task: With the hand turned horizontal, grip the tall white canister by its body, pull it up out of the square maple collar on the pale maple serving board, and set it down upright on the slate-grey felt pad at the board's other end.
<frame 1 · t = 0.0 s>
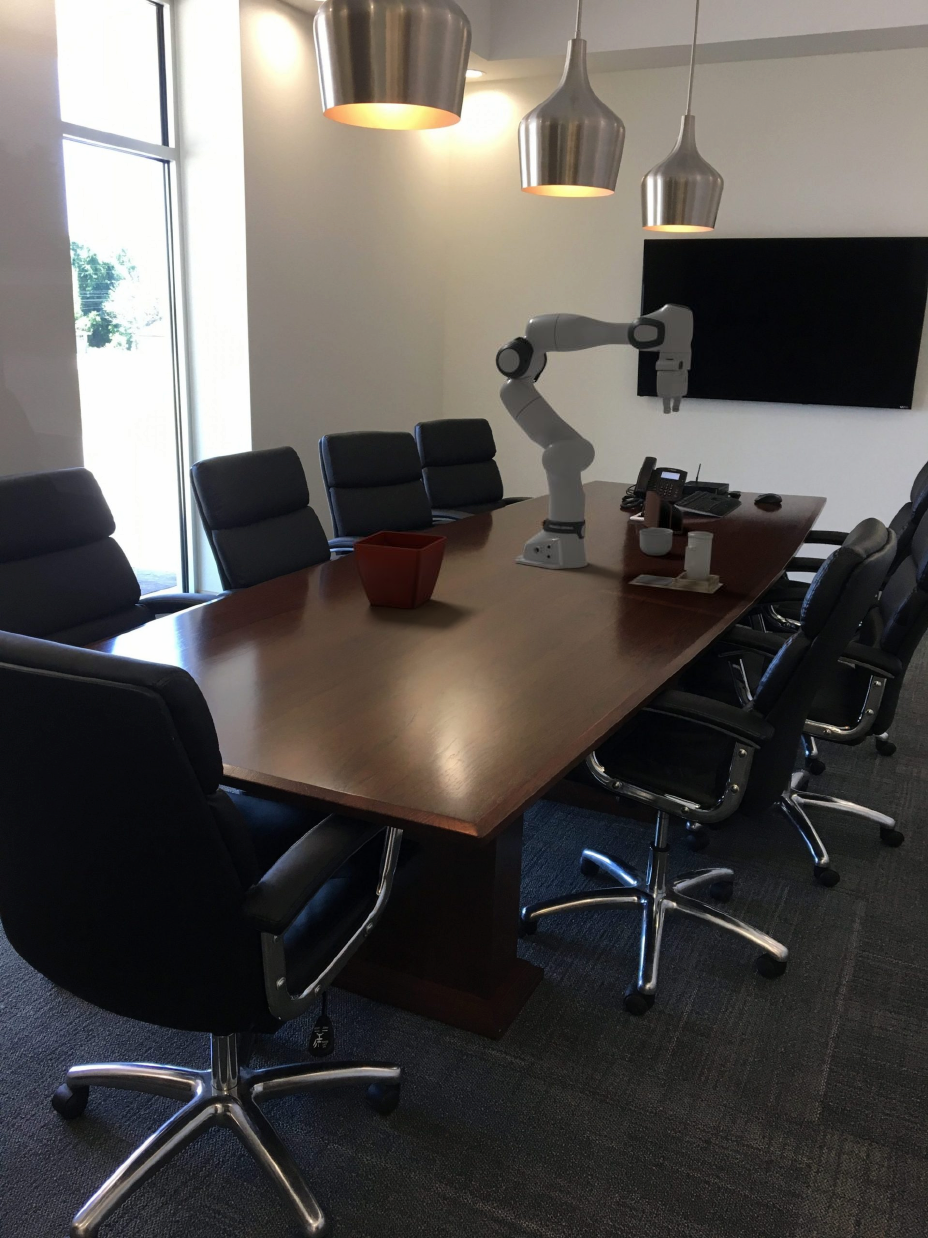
hand: (671, 412, 289), 48 cm above the table, tool pointing down, fingers open, 8 cm apart
teacup: (654, 553, 334), on the table
plant pot: (400, 602, 266), on the table
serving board: (675, 587, 286), on the table
tall white canister: (696, 585, 283), point 1 cm above the table, touching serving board
letter holder: (662, 530, 378), on the table
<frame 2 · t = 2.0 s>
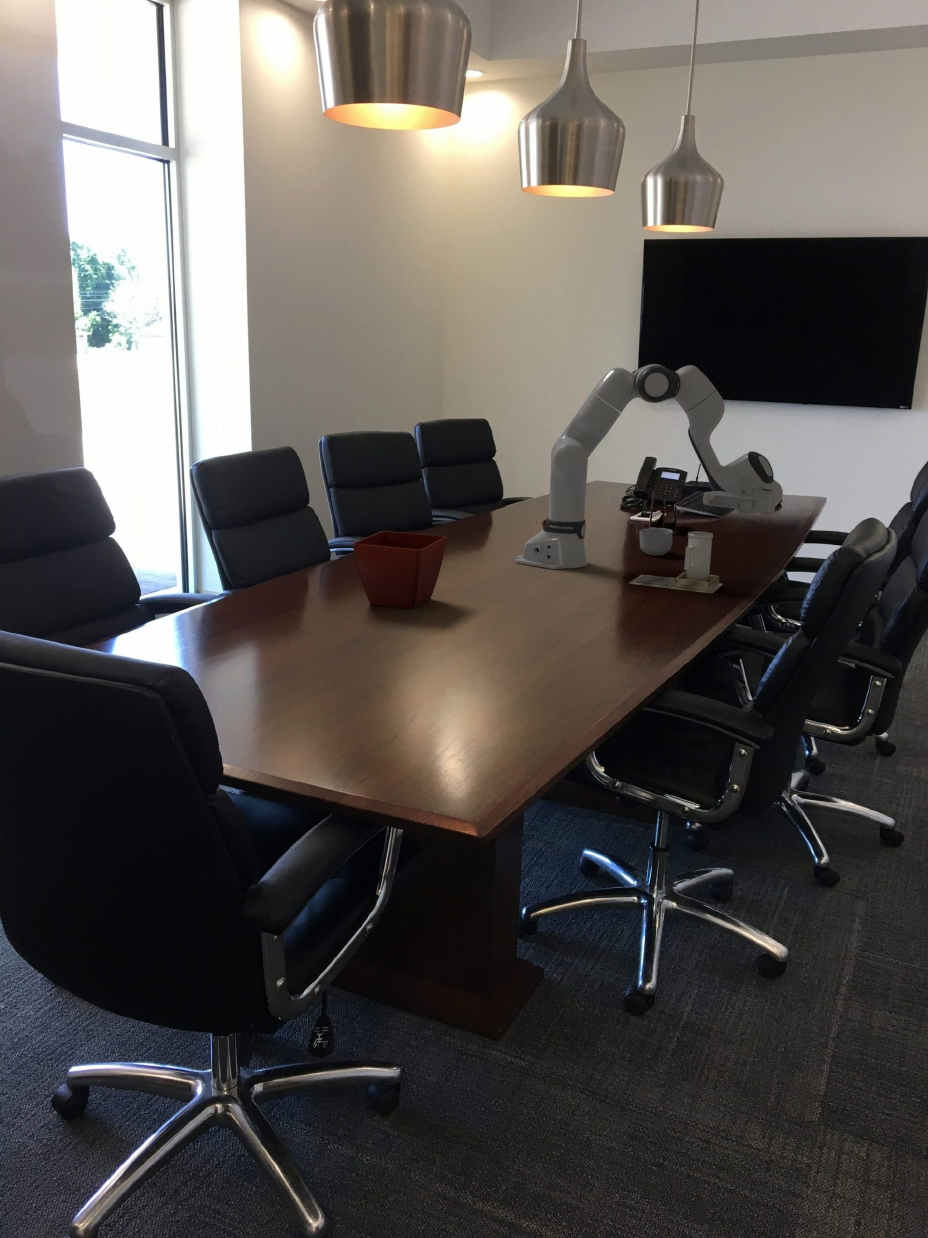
hand: (724, 503, 286), 23 cm above the table, tool horizontal, fingers open, 8 cm apart
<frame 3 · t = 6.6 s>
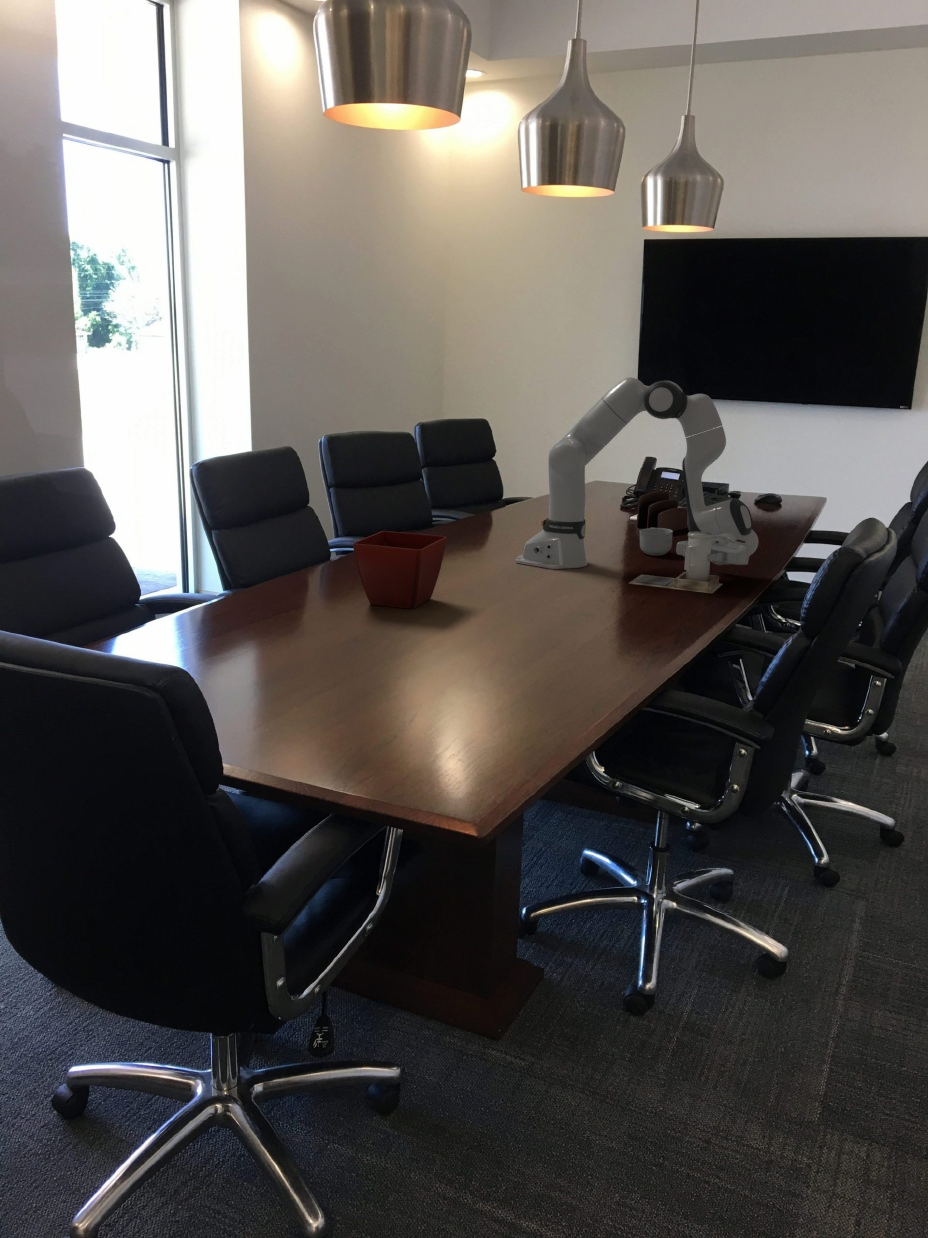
hand: (697, 555, 280), 10 cm above the table, tool horizontal, fingers closed on tall white canister, 6 cm apart
tall white canister: (696, 585, 283), point 1 cm above the table, touching gripper, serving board
when the fingers open (11 cm above the table, at t = 11.1 s): tall white canister stays where it is, resting on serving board.
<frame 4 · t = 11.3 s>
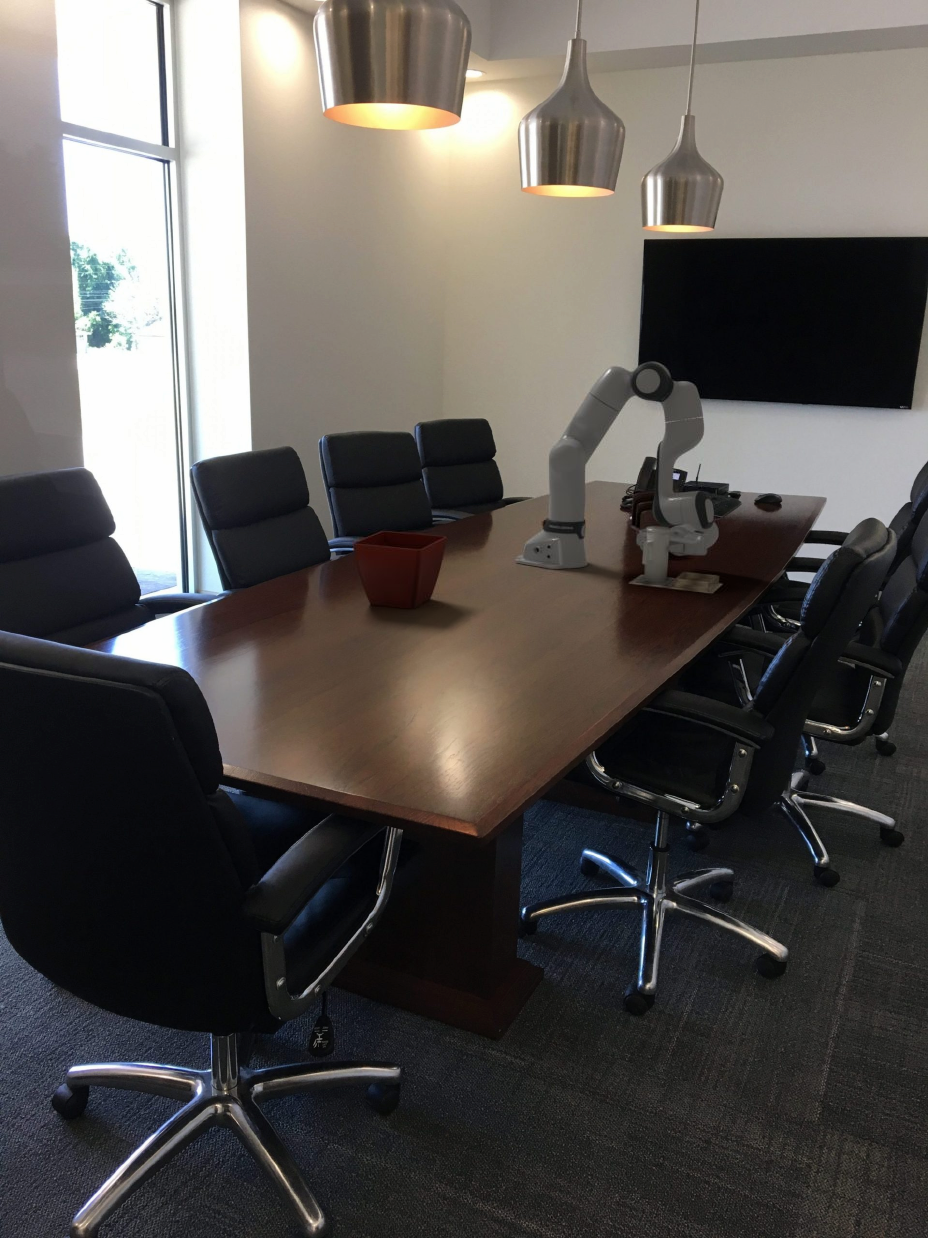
hand: (655, 546, 285), 11 cm above the table, tool horizontal, fingers open, 8 cm apart
tall white canister: (655, 579, 288), point 2 cm above the table, touching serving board
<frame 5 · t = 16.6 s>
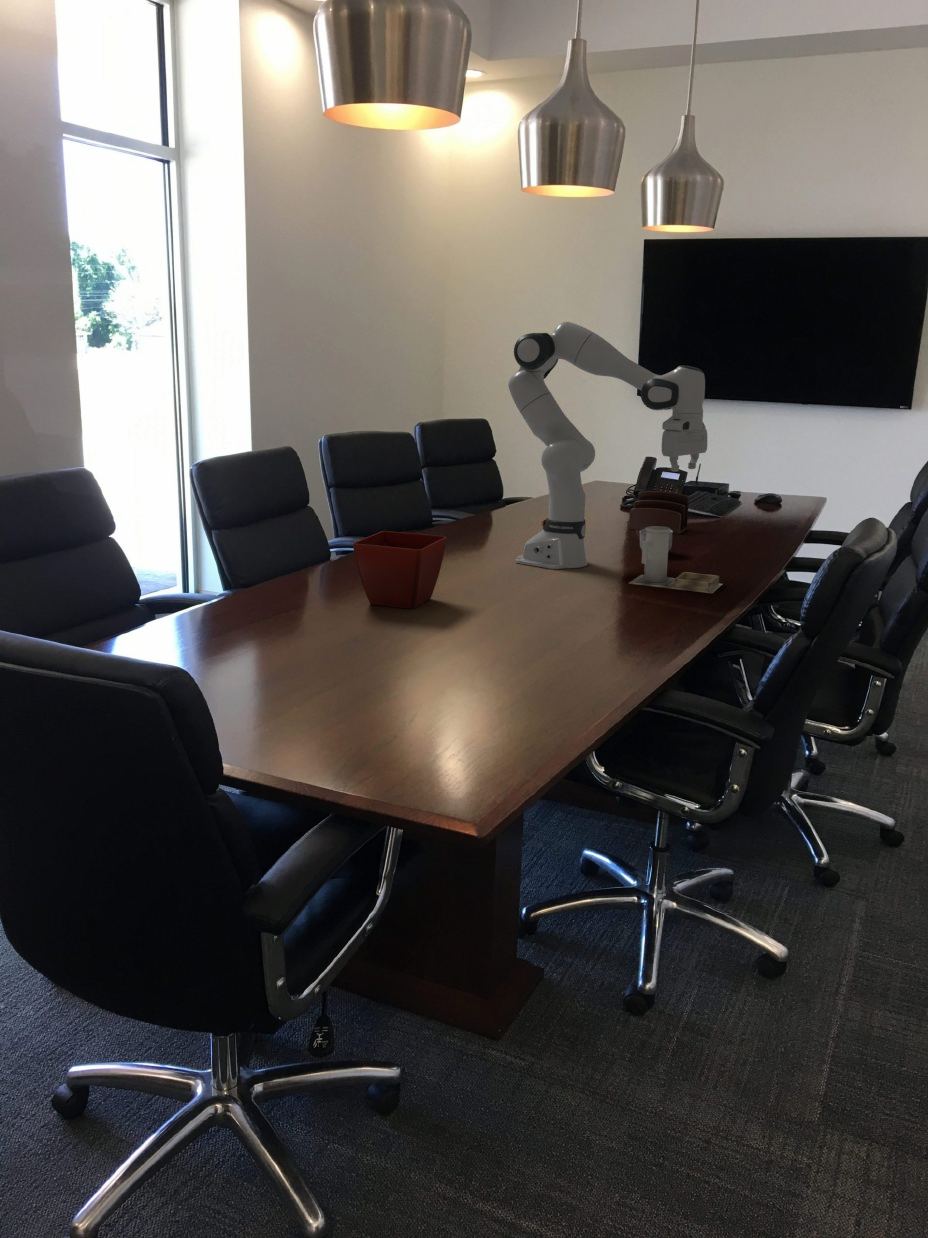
hand: (683, 470, 297), 31 cm above the table, tool pointing down, fingers open, 8 cm apart
at the end: tall white canister 0.1 cm from the target spot on the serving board, point 1.6 cm above the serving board's base; tall white canister tilted 1°; the gripper is holding nothing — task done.
